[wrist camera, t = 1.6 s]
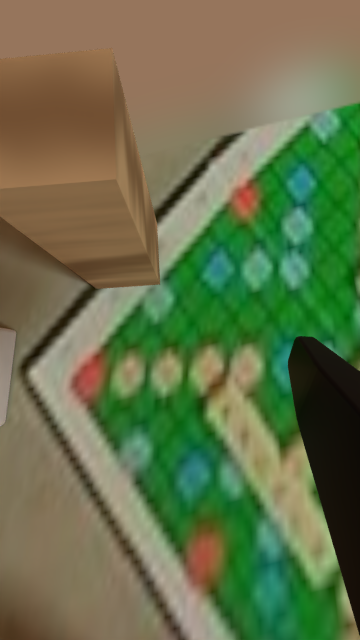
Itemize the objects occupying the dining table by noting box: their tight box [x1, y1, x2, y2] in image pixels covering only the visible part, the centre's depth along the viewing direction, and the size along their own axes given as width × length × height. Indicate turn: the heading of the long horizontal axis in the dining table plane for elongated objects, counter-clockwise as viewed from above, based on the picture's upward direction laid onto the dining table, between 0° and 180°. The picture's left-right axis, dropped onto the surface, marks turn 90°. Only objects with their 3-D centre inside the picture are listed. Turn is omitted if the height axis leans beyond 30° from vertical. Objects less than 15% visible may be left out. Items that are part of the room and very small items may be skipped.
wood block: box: [0, 48, 160, 289], centre depth 16 cm, size 5×5×13 cm
